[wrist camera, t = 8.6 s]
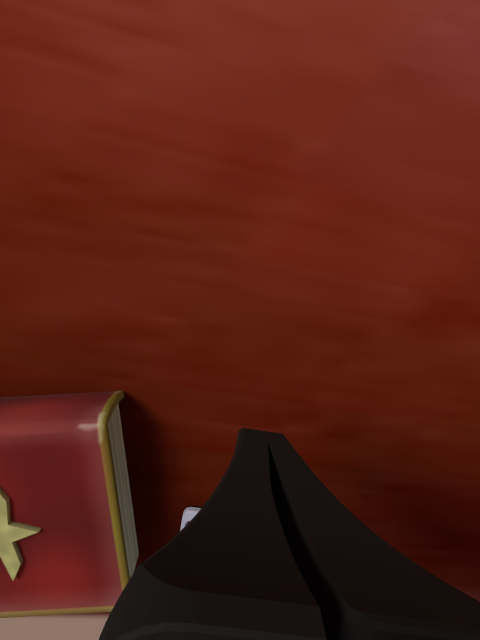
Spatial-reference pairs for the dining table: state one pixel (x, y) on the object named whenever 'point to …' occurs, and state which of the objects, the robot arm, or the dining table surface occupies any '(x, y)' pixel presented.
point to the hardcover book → (64, 505)
